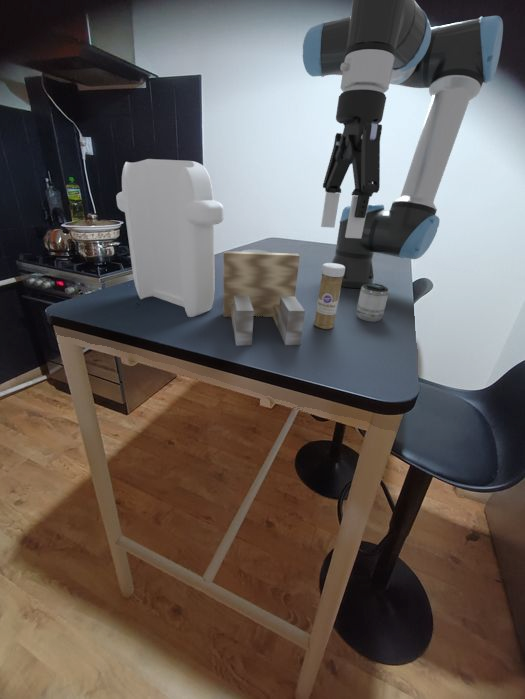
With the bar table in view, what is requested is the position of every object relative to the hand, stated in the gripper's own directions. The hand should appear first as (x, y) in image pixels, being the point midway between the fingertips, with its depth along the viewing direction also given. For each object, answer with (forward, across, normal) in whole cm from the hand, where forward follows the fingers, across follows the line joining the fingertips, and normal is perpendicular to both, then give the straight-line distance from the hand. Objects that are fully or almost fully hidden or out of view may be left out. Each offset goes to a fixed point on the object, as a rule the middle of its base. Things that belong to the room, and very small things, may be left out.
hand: (339, 232), depth 61 cm
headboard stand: (+20, +1, -14) cm, 24 cm away
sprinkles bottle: (+20, 0, 0) cm, 20 cm away
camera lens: (+20, -5, +13) cm, 24 cm away
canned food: (+20, -22, -13) cm, 32 cm away
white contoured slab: (+20, -14, -32) cm, 41 cm away
